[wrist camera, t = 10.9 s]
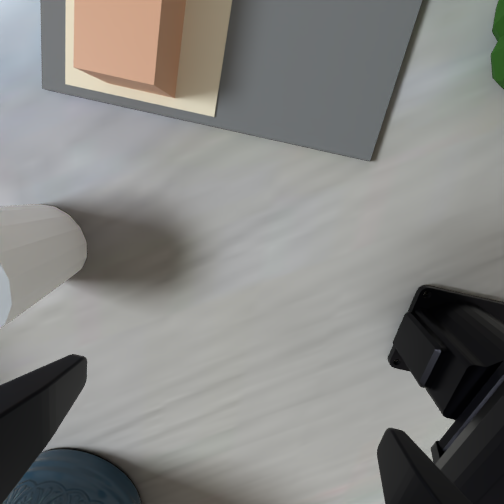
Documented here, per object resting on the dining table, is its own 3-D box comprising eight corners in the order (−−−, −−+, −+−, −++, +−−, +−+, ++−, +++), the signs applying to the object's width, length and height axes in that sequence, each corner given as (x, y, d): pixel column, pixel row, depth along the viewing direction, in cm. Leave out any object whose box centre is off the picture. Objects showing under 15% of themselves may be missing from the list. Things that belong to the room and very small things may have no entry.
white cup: (103, 215, 20) (15, 243, 13) (87, 299, 22) (4, 359, 15) (7, 180, 19) (-132, 189, 13) (0, 268, 22) (-123, 315, 15)
